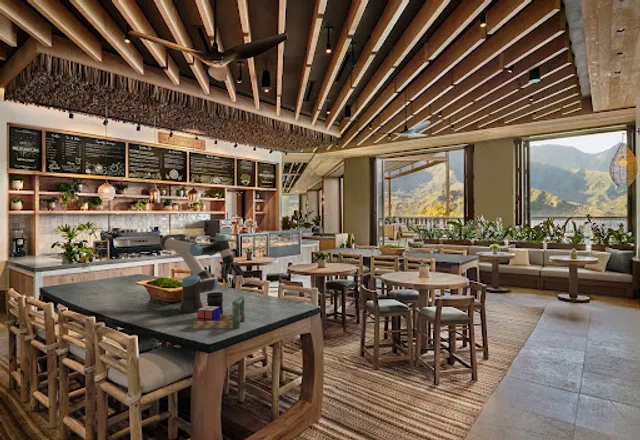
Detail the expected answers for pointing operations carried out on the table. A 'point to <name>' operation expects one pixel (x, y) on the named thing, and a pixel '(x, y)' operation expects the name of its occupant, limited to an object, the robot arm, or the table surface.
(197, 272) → the robot arm
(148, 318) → the table surface
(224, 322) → the channel
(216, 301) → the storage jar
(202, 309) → the puzzle cube
